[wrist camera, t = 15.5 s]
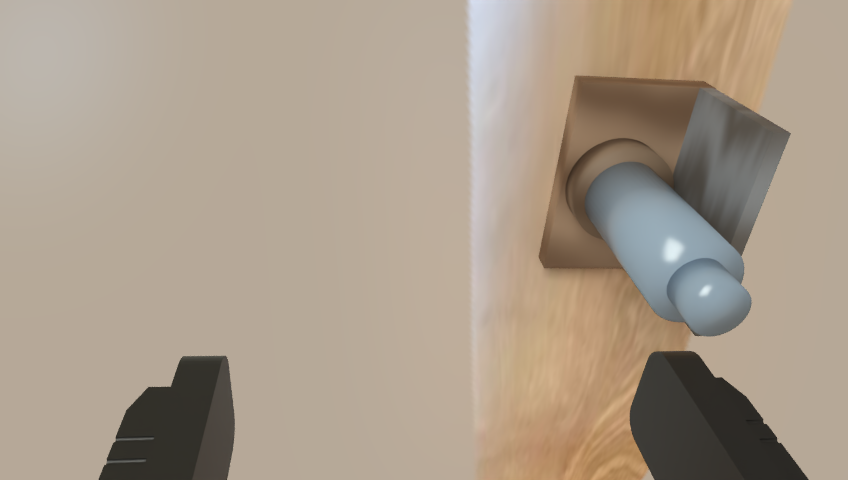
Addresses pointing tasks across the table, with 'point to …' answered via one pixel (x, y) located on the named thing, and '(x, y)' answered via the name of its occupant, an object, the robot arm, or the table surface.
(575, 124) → the display stand
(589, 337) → the table surface
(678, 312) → the blue grey bottle
